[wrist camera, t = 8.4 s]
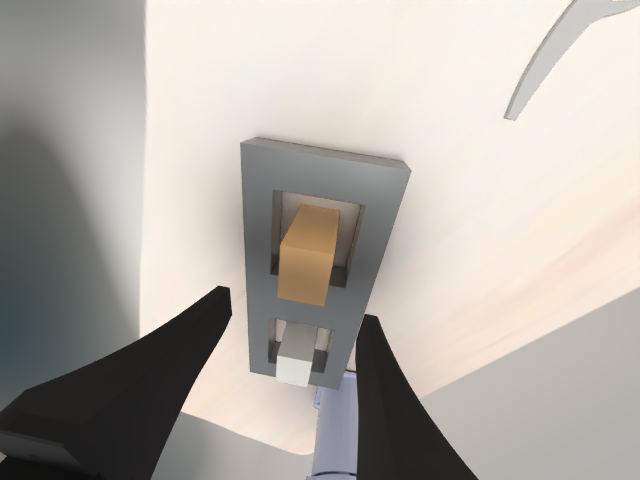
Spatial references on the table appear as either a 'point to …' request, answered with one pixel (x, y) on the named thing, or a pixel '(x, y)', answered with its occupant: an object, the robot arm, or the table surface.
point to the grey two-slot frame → (345, 284)
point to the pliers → (561, 45)
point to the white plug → (296, 354)
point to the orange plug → (308, 255)
